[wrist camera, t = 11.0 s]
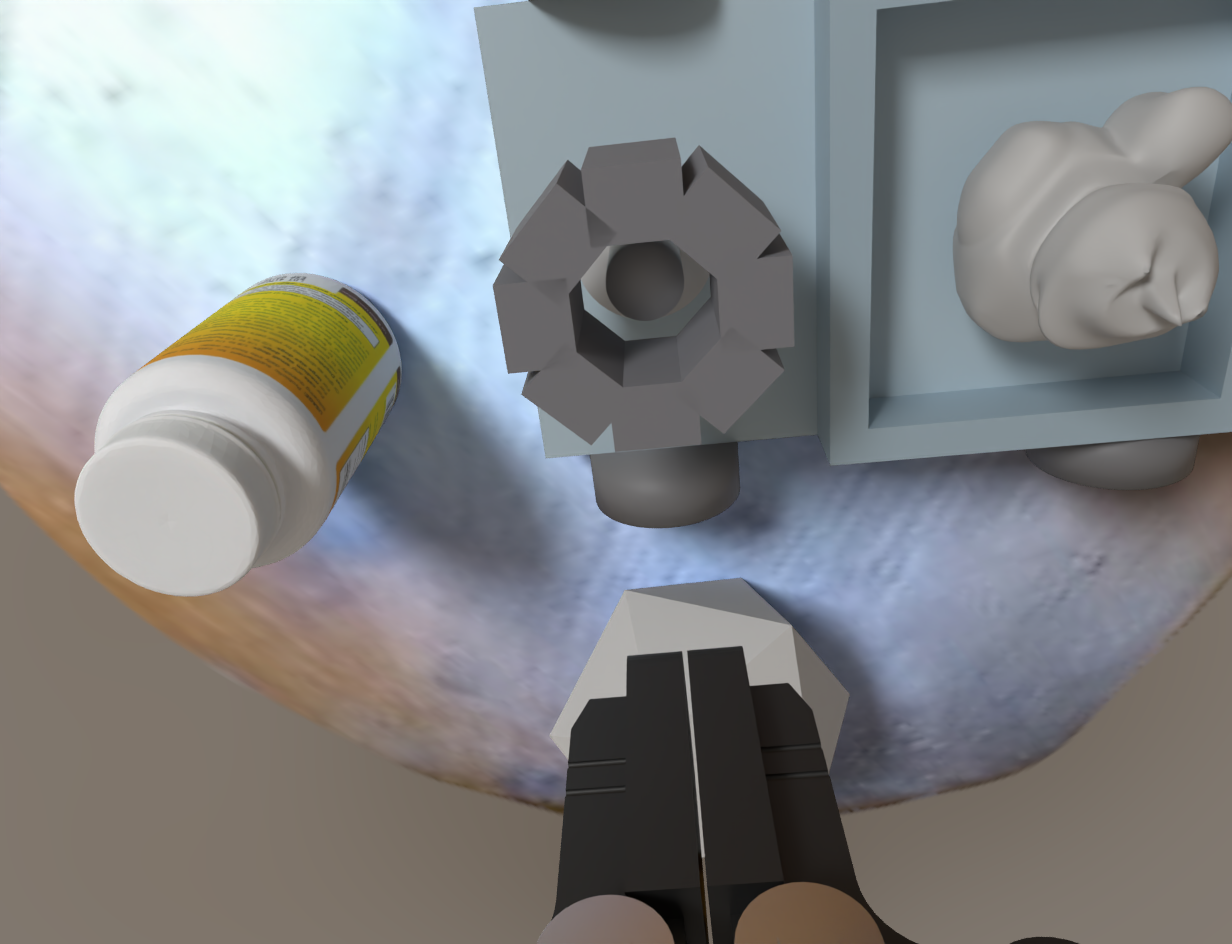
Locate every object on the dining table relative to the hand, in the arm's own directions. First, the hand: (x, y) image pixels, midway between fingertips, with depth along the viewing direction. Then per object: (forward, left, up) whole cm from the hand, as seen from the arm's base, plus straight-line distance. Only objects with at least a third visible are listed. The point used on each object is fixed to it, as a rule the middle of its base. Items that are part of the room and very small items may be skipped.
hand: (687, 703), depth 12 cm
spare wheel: (-3, 0, -12) cm, 12 cm away
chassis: (-3, +6, -18) cm, 19 cm away
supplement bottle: (0, -11, -18) cm, 21 cm away
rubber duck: (-3, +10, -15) cm, 18 cm away
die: (+12, 0, -18) cm, 22 cm away
